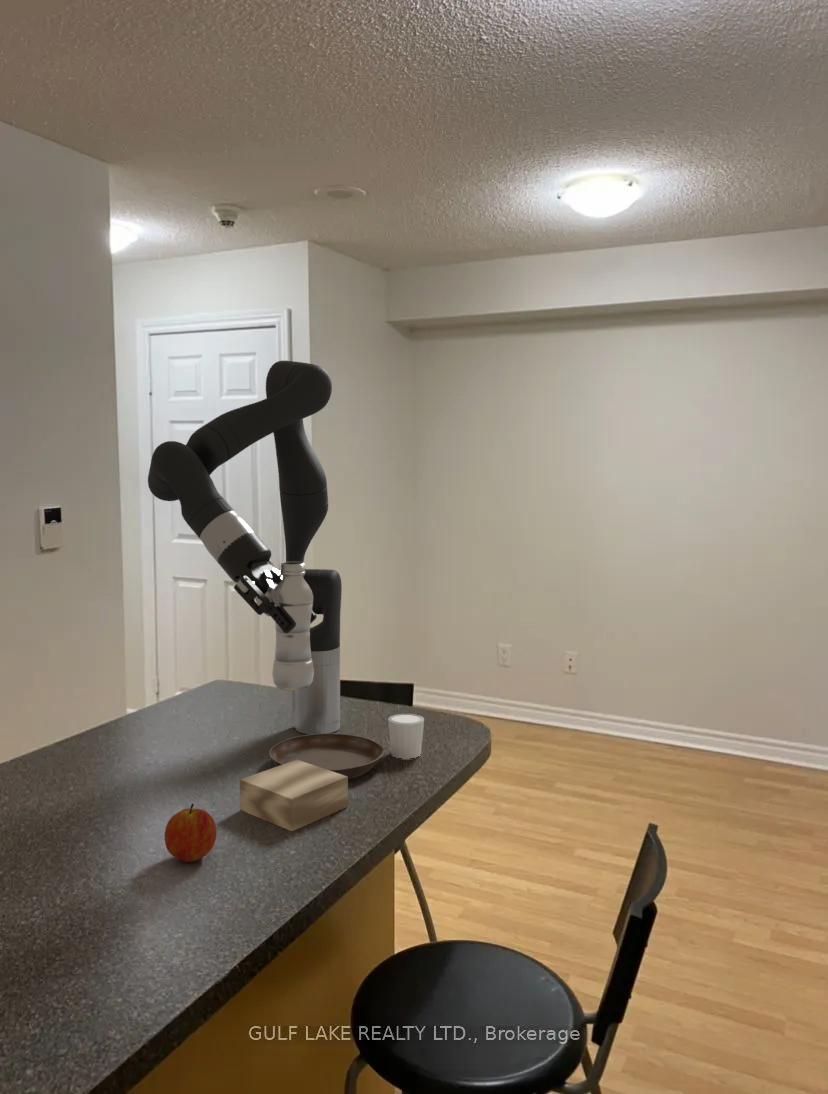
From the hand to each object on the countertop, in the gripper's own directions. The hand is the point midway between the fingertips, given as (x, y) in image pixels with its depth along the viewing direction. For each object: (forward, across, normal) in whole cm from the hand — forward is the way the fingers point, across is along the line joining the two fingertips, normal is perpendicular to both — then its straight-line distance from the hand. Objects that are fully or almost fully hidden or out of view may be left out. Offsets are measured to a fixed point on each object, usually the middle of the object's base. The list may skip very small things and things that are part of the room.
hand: (302, 625), depth 131 cm
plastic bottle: (+6, 0, +9) cm, 11 cm away
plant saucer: (+18, +19, +25) cm, 36 cm away
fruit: (+16, -20, +26) cm, 37 cm away
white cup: (+26, +30, +17) cm, 43 cm away
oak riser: (+20, 0, +22) cm, 30 cm away
